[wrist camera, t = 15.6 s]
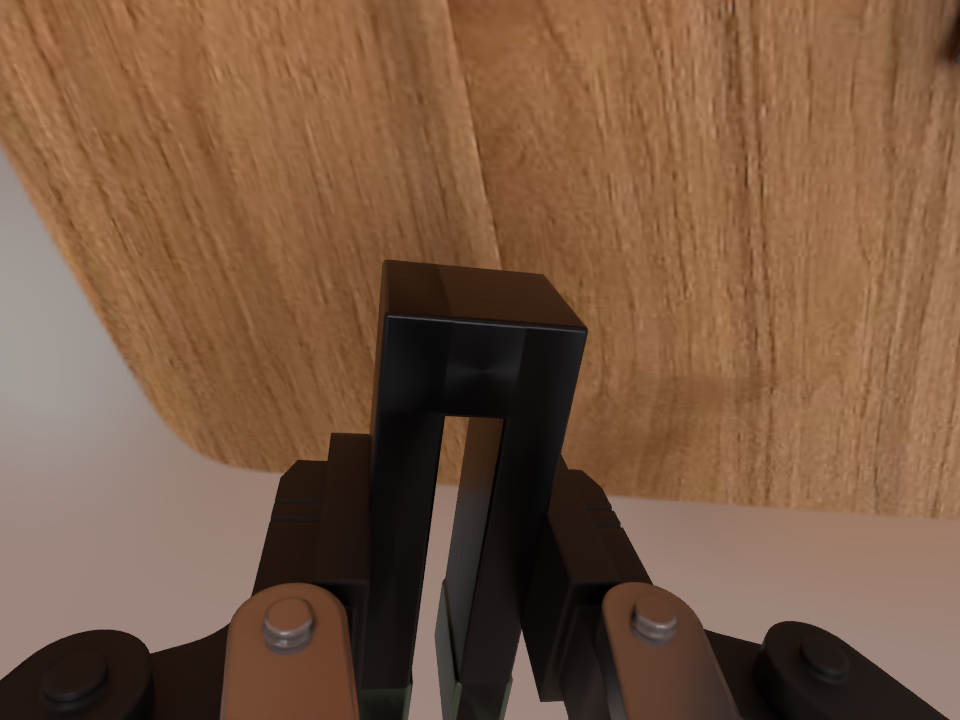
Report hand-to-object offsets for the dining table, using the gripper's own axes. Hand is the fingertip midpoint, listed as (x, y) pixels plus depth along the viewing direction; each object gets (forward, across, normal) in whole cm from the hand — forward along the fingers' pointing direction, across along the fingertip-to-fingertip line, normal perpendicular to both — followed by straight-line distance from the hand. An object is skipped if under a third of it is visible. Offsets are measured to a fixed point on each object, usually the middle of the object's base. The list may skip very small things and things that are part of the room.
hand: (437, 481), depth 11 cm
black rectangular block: (0, 0, 0) cm, 0 cm away
